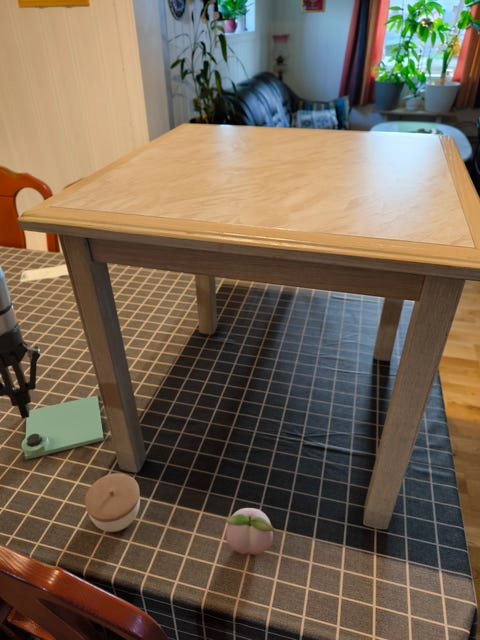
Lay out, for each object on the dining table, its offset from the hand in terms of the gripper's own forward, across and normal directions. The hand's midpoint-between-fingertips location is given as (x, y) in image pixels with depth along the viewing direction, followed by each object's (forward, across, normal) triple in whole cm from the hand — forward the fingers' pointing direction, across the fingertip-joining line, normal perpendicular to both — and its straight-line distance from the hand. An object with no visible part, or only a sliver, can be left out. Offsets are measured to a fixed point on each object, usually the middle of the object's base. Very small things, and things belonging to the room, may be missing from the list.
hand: (25, 413), depth 100 cm
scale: (+13, -6, -6) cm, 16 cm away
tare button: (+10, 0, -1) cm, 10 cm away
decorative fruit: (+13, -39, +39) cm, 57 cm away
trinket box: (+14, -16, +24) cm, 31 cm away
